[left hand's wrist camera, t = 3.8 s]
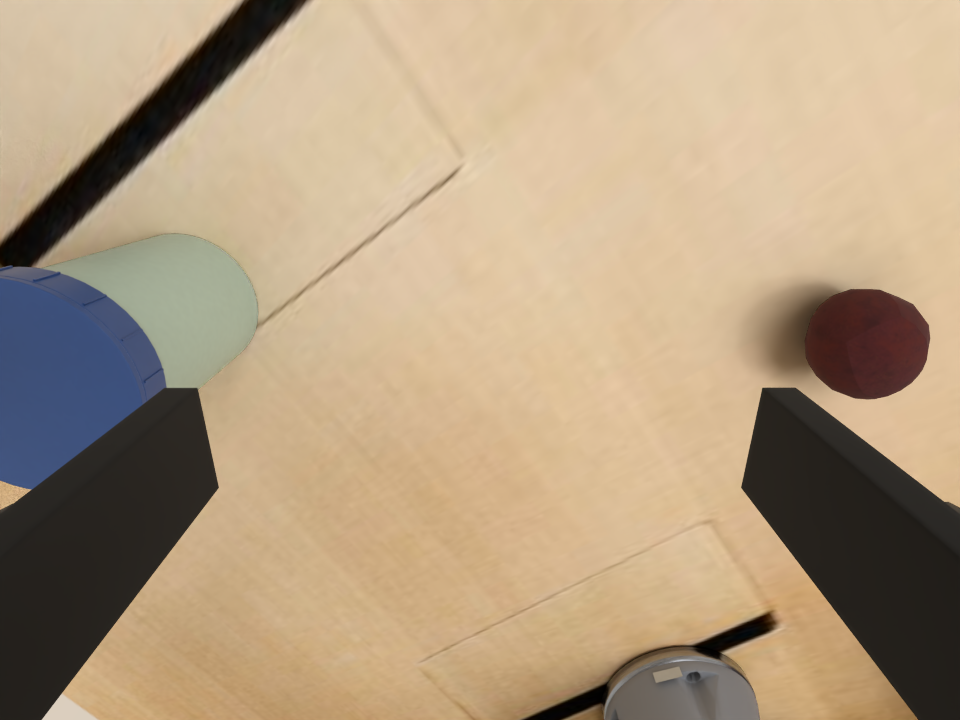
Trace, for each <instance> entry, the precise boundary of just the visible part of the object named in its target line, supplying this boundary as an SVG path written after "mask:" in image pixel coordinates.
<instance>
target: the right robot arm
mask: <svg viewBox="0 0 960 720" xmlns="http://www.w3.org/2000/svg"><path fill="white" fill-rule="evenodd" d="M602 713H603V718H604V720H760V716H759V710H758V704H757V701H756V697H755V693H754V691H753V689H752V687H751V685H750V683H749V681H748V679H747V677H746V675H745V673H744V671H743V670H742V669H741V668H740V667H739V666H738V665H737V664H736V663H735V662H734V661H733V660H731V659H730V658H728V657H727V656H725V655H723V654H720V653H718V652H715V651H712V650H708V649H703V648H697V647H674V648H667V649H662V650H657V651H654V652H651V653H648V654H645V655H643V656H641V657H639V658H637V659H635V660H633V661H631V662H630V663H628V664H627V665H625V666H624V667H622V668H621V669H620V670H619V671H618V672H617V673H616V674H615V675H614V676H613V677H612V678H611V680H610V681H609V683H608V684H607V686H606V688H605V690H604V693H603V697H602Z"/></svg>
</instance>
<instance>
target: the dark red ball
mask: <svg viewBox="0 0 960 720" xmlns="http://www.w3.org/2000/svg"><path fill="white" fill-rule="evenodd" d="M929 342H930V333H929V325H928V324H927V322H926V321H925V319H924V318H923V317H922V315H921V314H920V313H919V311H918V310H917V309H916V307H915V306H914V305H913V304H911V303H909V302H907V301H905V300H903V299H901V298H899V297H897V296H894V295H891V294H889V293H886V292H884V291H881V290H874V289H850V290H848V291H845V292H842V293H839V294H836V295H834V296H832V297H830V298H829V299H827V300H826V301H825V302H824V303H823V304H821V305H820V306H819V307H818V309H817V310H816V312H815V313H814V315H813V316H812V318H811V321H810V324H809V327H808V331H807V334H806V338H805V350H806V359H807V361H808V363H809V365H810V367H811V368H812V370H813V371H814V373H815V374H816V376H817V377H818V378H819V379H820V380H822V381H823V382H824V383H825V384H826V385H827V386H828V387H830V388H831V389H832V390H834V391H837V392H839V393H842V394H845V395H847V396H850V397H853V398H857V399H877V398H881V397H886V396H889V395H891V394H894V393H896V392H898V391H901V390H902V389H903V388H905V387H906V386H908V385H909V384H911V383H912V382H913V381H914V380H915V379H916V377H917V376H918V375H919V374H920V372H921V371H922V370H923V367H924V365H925V363H926V360H927V354H928V348H929Z"/></svg>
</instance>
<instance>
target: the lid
mask: <svg viewBox="0 0 960 720" xmlns="http://www.w3.org/2000/svg"><path fill="white" fill-rule="evenodd" d="M164 388H167V386H166V380H165V374H164V369H163V368H162V365H161V362H160V359H159V357H158V355H157V353H156V350H155V348H154V347H153V345H152V343H151V342H150V340H149V338H148V337H147V335H146V334H145V333H144V331H143V329H141V327H140V326H139V325H138V323H137V322H136V321H135V320H134V319H133V318H132V317H131V316H130V315H129V314H128V313H127V312H126V311H125V310H124V309H123V308H122V307H120V306H119V305H118V304H117V303H116V302H115V301H113V300H112V299H111V298H109V297H108V296H107V295H106V294H103V293H102V292H101V291H99V290H97V289H95V288H94V287H92V286H90V285H88V284H86V283H85V282H82V281H80V280H78V279H75V278H73V277H71V276H68V275H65V274H61V272H59V271H58V272H55V271H51V270H45V269H40V268H31V267H13V266H7V267H3V268H0V481H3V482H6V483H9V484H11V485H15V486H19V487H23V488H26V489H33V488H35V487H36V486H37V485H39V484H40V483H41V482H42V481H44V480H45V479H46V478H48V477H49V476H50V475H52V474H53V473H54V472H55V471H57V470H58V469H59V468H61V467H62V466H63V465H65V464H66V463H67V462H69V461H70V460H71V459H72V458H74V457H75V456H76V455H78V454H79V453H80V452H82V451H83V450H84V449H85V448H87V447H88V446H89V445H91V444H92V443H93V442H95V441H96V440H97V439H98V438H100V437H101V436H102V435H104V434H105V433H106V432H108V431H109V430H110V429H111V428H113V427H114V426H115V425H117V424H118V423H119V422H121V421H122V420H123V419H125V418H126V417H127V416H128V415H130V414H131V413H132V412H134V411H135V410H136V409H138V408H139V407H140V406H141V405H143V404H144V403H145V402H147V401H148V400H149V399H151V398H152V397H153V396H154V395H156V394H157V393H158V392H160V391H161V390H162V389H164Z"/></svg>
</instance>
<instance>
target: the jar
mask: <svg viewBox="0 0 960 720" xmlns="http://www.w3.org/2000/svg"><path fill="white" fill-rule="evenodd" d="M40 269H45V270H51V271H55V272H58V271H59V272H61V274H65V275H68V276H71V277H73V278H75V279H78V280H80V281H82V282H85V283H86V284H88V285H90V286H92V287H94V288H95V289H97V290H99V291H101V292H102V293H103V294H106V295H107V296H108V297H109V298H111V299H112V300H113V301H115V302H116V303H117V304H118V305H119V306H120V307H122V308H123V309H124V310H125V311H126V312H127V313H128V314H129V315H130V316H131V317H132V318H133V319H134V320H135V321H136V322H137V323H138V325H139V326H140V327H141V329H143V331H144V333H145V334H146V335H147V337H148V338H149V340H150V342H151V343H152V345H153V347H154V348H155V350H156V353H157V355H158V357H159V359H160V362H161V365H162V368H163V369H164V374H165V380H166V386H167V388H198V390H199V389H200V388H201V387H202V386H203V385H204V384H205V383H207V382H208V381H209V380H210V379H211V378H212V377H214V376H215V375H216V374H217V373H218V372H219V371H220V370H222V369H223V368H224V367H225V366H226V365H227V364H229V363H230V362H231V361H232V360H233V359H234V358H235V357H237V356H238V355H239V354H240V353H241V352H242V351H243V350H244V349H245V348H246V347H247V345H248V344H249V343H250V341H251V339H252V337H253V336H254V333H255V330H256V326H257V321H258V305H257V299H256V295H255V292H254V289H253V286H252V284H251V282H250V280H249V278H248V277H247V275H246V274H245V272H244V270H243V269H242V268H241V267H240V265H239V264H238V263H237V262H236V261H235V260H234V259H233V258H232V257H231V256H230V255H229V254H227V253H226V252H225V251H224V250H222V249H221V248H219V247H218V246H216V245H214V244H213V243H210V242H208V241H206V240H204V239H201V238H198V237H195V236H191V235H186V234H164V235H159V236H155V237H151V238H147V239H144V240H140V241H137V242H133V243H130V244H126V245H122V246H119V247H115V248H112V249H108V250H105V251H101V252H97V253H94V254H90V255H87V256H83V257H80V258H76V259H72V260H69V261H65V262H62V263H58V264H54V265H51V266H47V267H44V268H40Z"/></svg>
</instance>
